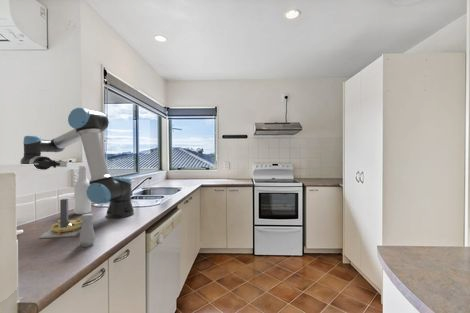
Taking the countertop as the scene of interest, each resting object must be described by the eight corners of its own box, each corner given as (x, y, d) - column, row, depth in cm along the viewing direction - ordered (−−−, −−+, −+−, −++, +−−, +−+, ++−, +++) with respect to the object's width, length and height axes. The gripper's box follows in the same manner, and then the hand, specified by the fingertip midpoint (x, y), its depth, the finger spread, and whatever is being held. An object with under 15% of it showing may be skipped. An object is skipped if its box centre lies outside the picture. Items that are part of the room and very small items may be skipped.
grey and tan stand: (56, 225, 114) (56, 195, 114) (86, 222, 119) (86, 194, 118) (45, 233, 102) (45, 201, 102) (79, 230, 107) (79, 199, 106)
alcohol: (70, 213, 139) (70, 165, 138) (83, 210, 147) (83, 164, 147) (82, 215, 137) (82, 166, 136) (94, 211, 145) (94, 165, 145)
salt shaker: (86, 241, 97) (86, 211, 97) (98, 242, 96) (98, 212, 96) (75, 247, 91) (75, 215, 91) (88, 248, 91) (88, 216, 90)
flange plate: (90, 223, 121) (90, 220, 121) (75, 235, 103) (75, 232, 103) (60, 225, 117) (60, 222, 117) (39, 238, 100) (39, 234, 100)
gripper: (54, 168, 134) (78, 170, 124) (26, 170, 123) (50, 172, 113) (54, 156, 134) (78, 157, 124) (26, 156, 122) (50, 157, 112)
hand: (65, 164), depth 118 cm, fingers closed
